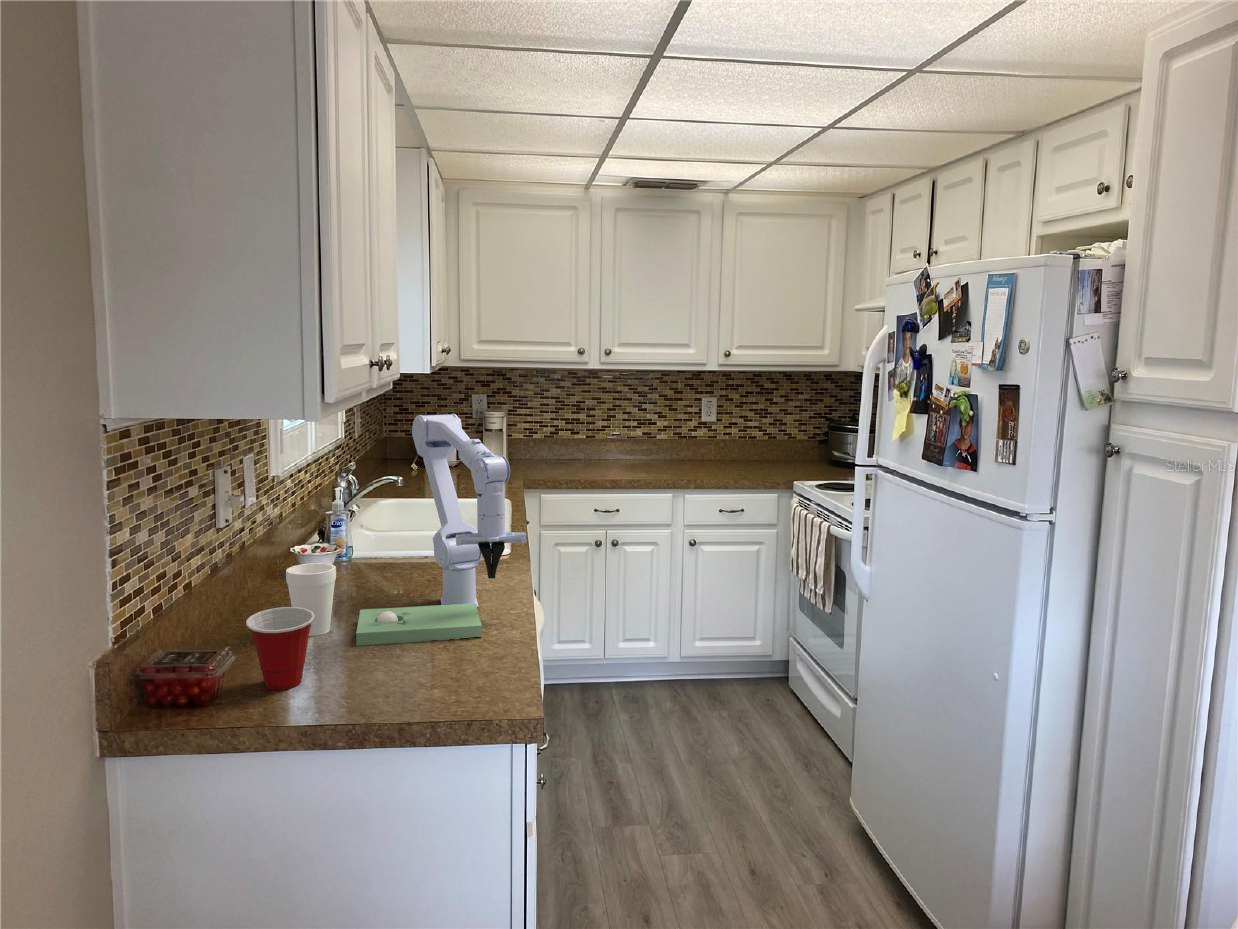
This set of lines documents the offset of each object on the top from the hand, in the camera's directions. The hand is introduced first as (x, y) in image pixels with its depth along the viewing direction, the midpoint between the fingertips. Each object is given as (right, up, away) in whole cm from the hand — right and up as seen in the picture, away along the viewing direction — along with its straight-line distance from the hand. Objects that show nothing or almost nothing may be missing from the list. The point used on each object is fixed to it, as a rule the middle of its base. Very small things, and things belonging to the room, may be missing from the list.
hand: (491, 577), depth 184 cm
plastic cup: (-30, -14, -36) cm, 49 cm away
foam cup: (-35, -10, -7) cm, 37 cm away
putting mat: (-14, -10, -5) cm, 18 cm away
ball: (-20, -8, -7) cm, 23 cm away
